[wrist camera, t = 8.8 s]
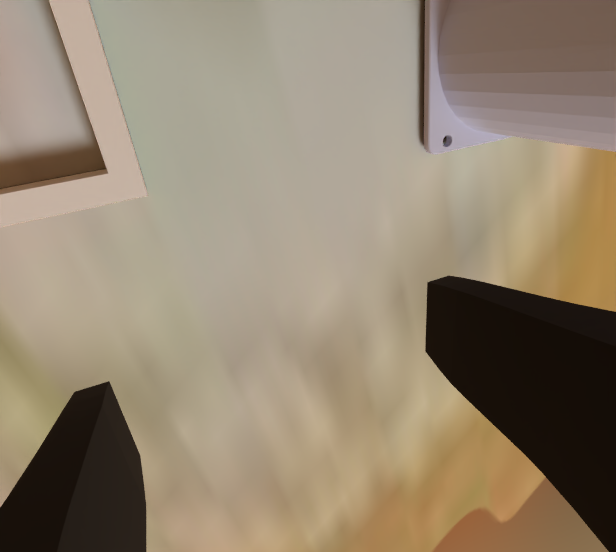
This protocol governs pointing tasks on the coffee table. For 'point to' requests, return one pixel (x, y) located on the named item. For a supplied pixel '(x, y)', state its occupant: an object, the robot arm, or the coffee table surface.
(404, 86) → the coffee table surface
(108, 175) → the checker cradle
